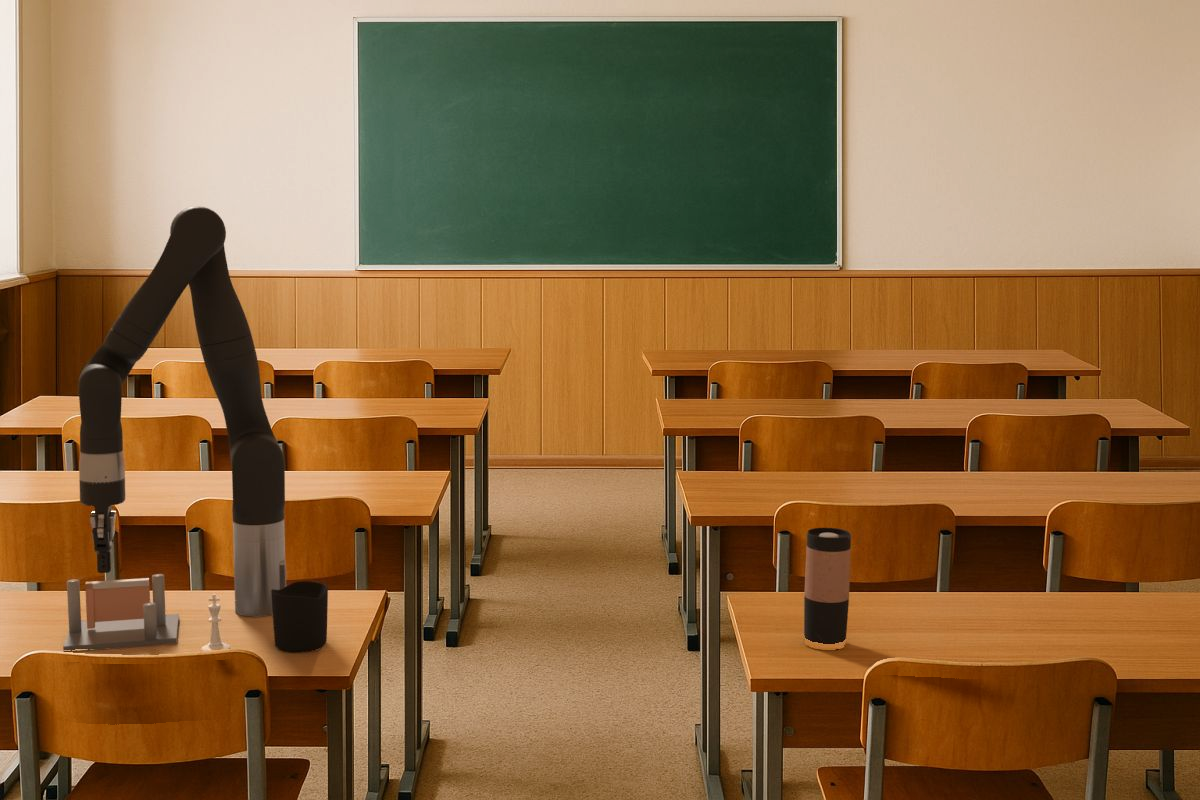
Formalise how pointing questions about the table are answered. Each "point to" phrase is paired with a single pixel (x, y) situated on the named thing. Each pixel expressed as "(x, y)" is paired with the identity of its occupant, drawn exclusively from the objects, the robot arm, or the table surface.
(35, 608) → the table surface
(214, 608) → the chess piece
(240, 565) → the robot arm
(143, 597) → the gate
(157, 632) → the gate frame
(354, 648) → the table surface
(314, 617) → the pen holder
